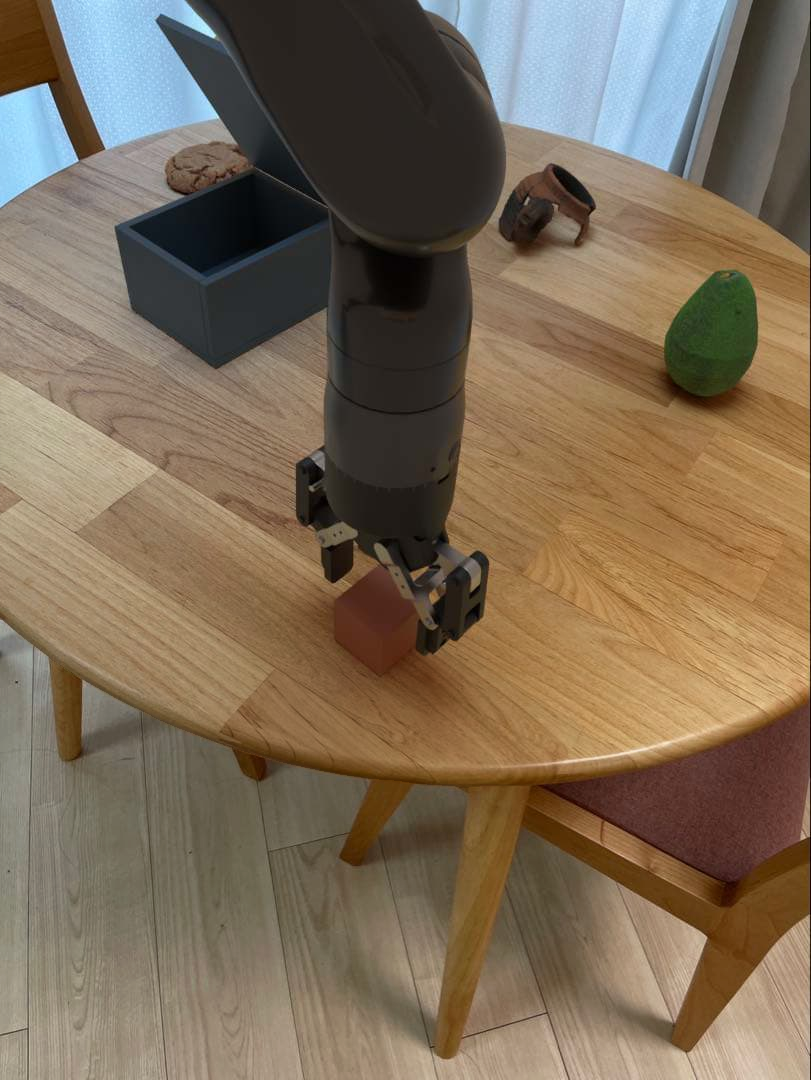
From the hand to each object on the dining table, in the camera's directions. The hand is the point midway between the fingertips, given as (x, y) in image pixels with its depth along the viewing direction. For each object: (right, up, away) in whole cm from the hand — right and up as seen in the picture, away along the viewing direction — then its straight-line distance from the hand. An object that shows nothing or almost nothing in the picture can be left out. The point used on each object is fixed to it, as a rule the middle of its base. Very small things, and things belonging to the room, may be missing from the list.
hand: (383, 609), depth 60 cm
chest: (-15, +29, +28) cm, 43 cm away
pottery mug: (+17, +39, +40) cm, 58 cm away
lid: (-12, +41, +17) cm, 46 cm away
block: (0, -2, +3) cm, 4 cm away
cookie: (-22, +48, +44) cm, 68 cm away
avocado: (+29, +19, +24) cm, 42 cm away
